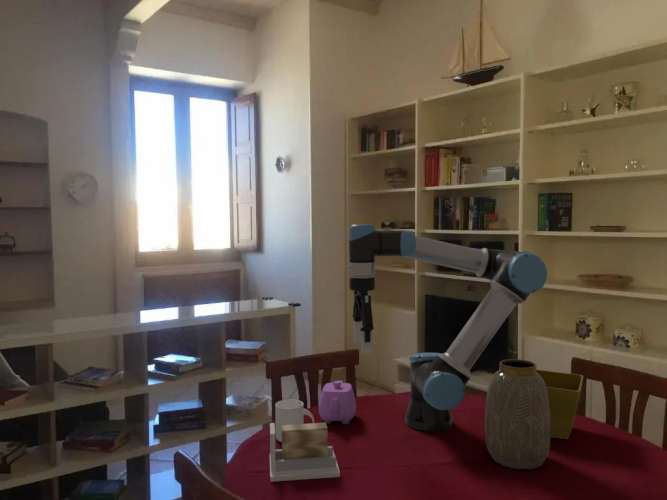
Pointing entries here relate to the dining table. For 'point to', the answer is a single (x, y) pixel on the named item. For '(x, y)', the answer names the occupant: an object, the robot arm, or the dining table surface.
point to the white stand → (300, 464)
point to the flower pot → (562, 400)
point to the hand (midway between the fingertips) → (362, 347)
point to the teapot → (337, 402)
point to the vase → (518, 416)
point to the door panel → (304, 441)
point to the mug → (289, 414)
